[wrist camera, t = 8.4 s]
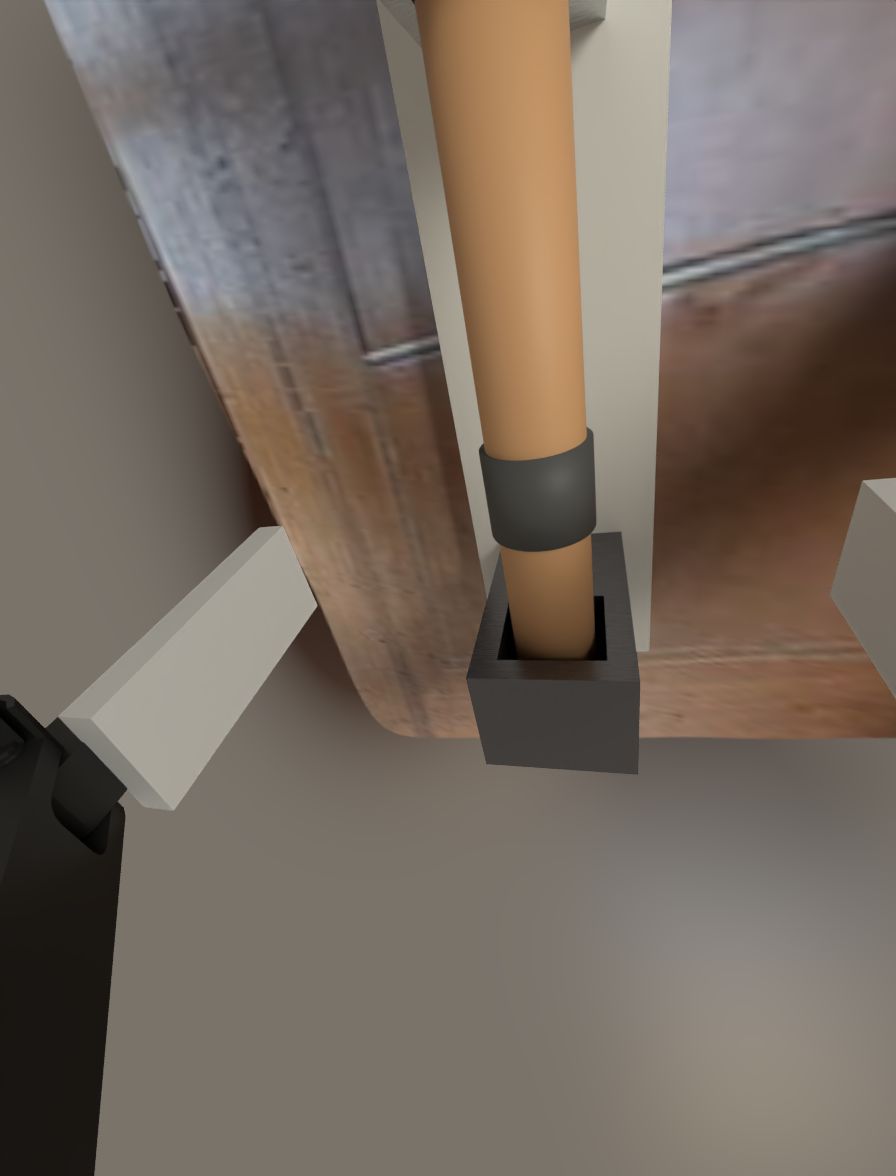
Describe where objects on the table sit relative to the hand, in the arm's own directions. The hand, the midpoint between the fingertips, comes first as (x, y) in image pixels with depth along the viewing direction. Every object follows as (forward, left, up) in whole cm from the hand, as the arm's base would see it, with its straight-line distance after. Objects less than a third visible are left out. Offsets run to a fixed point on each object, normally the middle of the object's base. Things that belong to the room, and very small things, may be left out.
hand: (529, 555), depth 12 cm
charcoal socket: (+9, 0, -13) cm, 16 cm away
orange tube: (-2, 0, -7) cm, 7 cm away
